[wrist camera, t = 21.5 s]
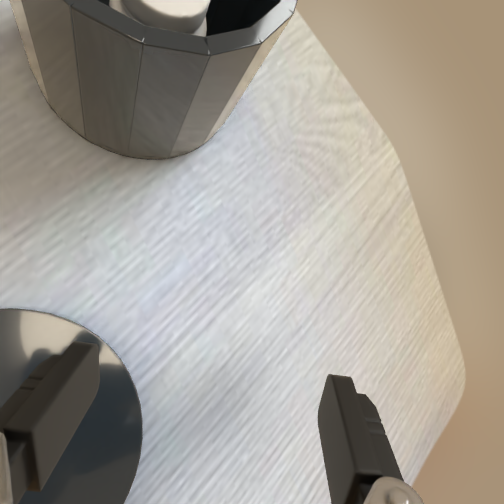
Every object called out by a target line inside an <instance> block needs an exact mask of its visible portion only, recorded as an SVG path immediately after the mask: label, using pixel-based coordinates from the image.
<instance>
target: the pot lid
mask: <svg viewBox="0 0 504 504" xmlns="http://www.w3.org/2000/svg"><path fill="white" fill-rule="evenodd" d="M74 341H77V342H85V343H93V344H97V345H98V347H99V365H100V383H99V388H98V392H97V394H96V397H95V398H94V400H93V402H92V404H91V405H90V407H89V409H88V411H87V412H86V414H85V416H84V418H83V419H82V421H81V423H80V425H79V426H78V428H77V430H76V431H75V433H74V435H73V437H72V438H71V440H70V442H69V444H68V445H67V447H66V449H65V451H64V452H63V454H62V456H61V457H60V459H59V461H58V463H57V464H56V466H55V468H54V470H53V471H52V473H51V475H50V477H49V478H48V480H47V482H46V484H45V485H44V487H43V489H42V490H41V492H36V491H27V490H26V492H25V493H24V495H23V497H22V498H21V500H20V501H19V503H18V504H124V502H125V500H126V498H127V496H128V494H129V491H130V489H131V486H132V483H133V481H134V478H135V475H136V471H137V467H138V463H139V459H140V454H141V446H142V414H141V406H140V402H139V398H138V394H137V391H136V388H135V385H134V383H133V381H132V378H131V376H130V374H129V372H128V370H127V368H126V367H125V365H124V364H123V362H122V360H121V359H120V358H119V356H118V355H117V354H116V353H115V352H114V351H113V349H112V348H111V347H110V346H109V345H108V344H107V343H105V342H104V341H103V340H102V339H101V338H100V337H99V336H97V335H96V334H94V333H93V332H91V331H90V330H88V329H87V328H85V327H84V326H82V325H79V324H77V323H75V322H73V321H71V320H69V319H66V318H63V317H60V316H57V315H54V314H51V313H46V312H40V311H35V310H26V309H12V308H10V309H0V408H1V407H2V406H3V405H4V404H5V403H6V402H7V400H8V399H9V398H10V397H11V396H12V395H13V393H14V392H15V391H16V390H17V389H19V388H20V385H21V384H22V383H23V382H24V381H25V380H26V379H28V376H29V375H30V374H31V373H32V372H33V370H34V369H35V368H36V367H37V366H38V365H39V364H40V363H42V362H43V361H45V360H46V359H48V358H50V357H51V356H53V355H62V354H63V353H64V352H65V351H66V349H67V348H68V347H69V346H70V345H71V343H73V342H74Z"/></svg>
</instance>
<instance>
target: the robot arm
mask: <svg viewBox="0 0 504 504" xmlns="http://www.w3.org/2000/svg"><path fill="white" fill-rule="evenodd" d="M99 383H100V365H99V347H98V345H97V344H93V343H85V342H77V341H74V342H73V343H71V345H70V346H69V347H68V348H67V349H66V351H65V352H64V353H63V354H62V355H53V356H51V357H50V358H48V359H46V360H45V361H43V362H42V363H40V364H39V365H38V366H37V367H36V368H35V369H34V370H33V372H32V373H31V374H30V375H29V376H28V379H26V380H25V381H24V382H23V383H22V384H21V385H20V388H19V389H17V390H16V391H15V392H14V393H13V395H12V396H11V397H10V398H9V399H8V400H7V402H6V403H5V404H4V405H3V406H2V407H1V408H0V504H18V503H19V501H20V500H21V498H22V497H23V495H24V493H25V492H26V490H27V491H36V492H41V490H42V489H43V487H44V485H45V484H46V482H47V480H48V478H49V477H50V475H51V473H52V471H53V470H54V468H55V466H56V464H57V463H58V461H59V459H60V457H61V456H62V454H63V452H64V451H65V449H66V447H67V445H68V444H69V442H70V440H71V438H72V437H73V435H74V433H75V431H76V430H77V428H78V426H79V425H80V423H81V421H82V419H83V418H84V416H85V414H86V412H87V411H88V409H89V407H90V405H91V404H92V402H93V400H94V398H95V397H96V394H97V392H98V388H99ZM318 427H319V433H320V439H321V445H322V451H323V456H324V462H325V468H326V474H327V480H328V485H329V491H330V497H331V503H332V504H424V503H423V501H422V499H421V497H420V496H419V495H418V494H417V492H416V491H415V490H414V489H413V488H412V487H411V486H409V485H408V484H407V483H405V482H404V480H403V478H402V475H401V473H400V470H399V467H398V465H397V462H396V459H395V457H394V454H393V451H392V449H391V446H390V443H389V441H388V438H387V435H385V430H384V427H383V425H382V424H381V419H380V417H379V414H378V411H377V409H376V407H375V405H374V404H373V403H372V402H371V401H370V399H369V398H368V397H367V396H366V394H358V393H357V392H356V389H355V386H354V383H353V380H352V378H351V377H347V376H339V375H332V374H329V375H328V376H327V379H326V383H325V387H324V390H323V394H322V398H321V401H320V405H319V410H318Z"/></svg>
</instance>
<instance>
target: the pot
mask: <svg viewBox="0 0 504 504" xmlns="http://www.w3.org/2000/svg"><path fill="white" fill-rule="evenodd" d="M9 1H10V4H11V7H12V10H13V13H14V17H15V20H16V23H17V26H18V30H19V33H20V36H21V39H22V42H23V46H24V49H25V52H26V55H27V59H28V62H29V65H30V68H31V70H32V72H33V74H34V76H35V78H36V80H37V82H38V85H39V87H40V89H41V92H42V93H43V95H44V97H45V98H46V100H47V102H48V103H49V105H50V106H51V108H53V110H54V111H55V112H56V114H57V115H58V116H59V117H60V118H61V119H62V120H63V121H64V122H65V123H66V124H67V125H68V126H69V127H70V128H72V129H73V130H74V131H76V132H77V133H78V134H79V135H81V136H82V137H84V138H85V139H87V140H89V141H90V142H92V143H93V144H95V145H98V146H100V147H102V148H104V149H106V150H108V151H111V152H114V153H117V154H120V155H124V156H128V157H133V158H140V159H165V158H172V157H176V156H180V155H183V154H186V153H188V152H191V151H193V150H195V149H197V148H198V147H200V146H202V145H203V144H205V143H206V142H207V141H208V140H209V139H210V138H211V137H212V136H213V135H214V134H215V133H216V132H217V131H218V129H219V128H220V127H221V126H222V125H223V124H224V123H225V122H226V120H227V118H228V117H229V115H230V114H231V112H232V110H233V109H234V107H235V106H236V104H237V103H238V101H239V99H240V98H241V96H242V95H243V93H244V92H245V90H246V88H247V87H248V85H249V84H250V82H251V80H252V79H253V77H254V76H255V74H256V73H257V71H258V69H259V68H260V66H261V65H262V63H263V61H264V60H265V58H266V57H267V55H268V54H269V52H270V50H271V49H272V47H273V46H274V44H275V43H276V41H277V39H278V38H279V36H280V35H281V33H282V31H283V30H284V28H285V27H286V25H287V24H288V22H289V20H290V19H291V17H292V16H293V14H294V11H295V7H296V4H297V0H210V3H209V7H208V10H207V13H206V16H205V17H206V22H207V32H206V37H203V36H198V35H193V34H187V33H182V32H177V31H171V30H166V29H161V28H156V27H150V26H145V25H143V24H141V23H139V22H138V21H136V20H134V19H132V18H130V17H128V16H126V15H125V14H123V13H121V12H119V11H117V10H115V9H113V8H112V7H110V6H109V1H110V0H9Z"/></svg>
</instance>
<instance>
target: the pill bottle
mask: <svg viewBox="0 0 504 504" xmlns="http://www.w3.org/2000/svg"><path fill="white" fill-rule="evenodd" d="M209 3H210V0H110V1H109V6H110V7H112V8H113V9H115V10H117V11H119V12H121V13H123V14H125V15H126V16H128V17H130V18H132V19H134V20H136V21H138V22H139V23H141V24H143V25H145V26H150V27H156V28H161V29H166V30H171V31H177V32H182V33H187V34H193V35H198V36H203V37H206V32H207V22H206V17H205V16H206V13H207V10H208V7H209Z"/></svg>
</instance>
